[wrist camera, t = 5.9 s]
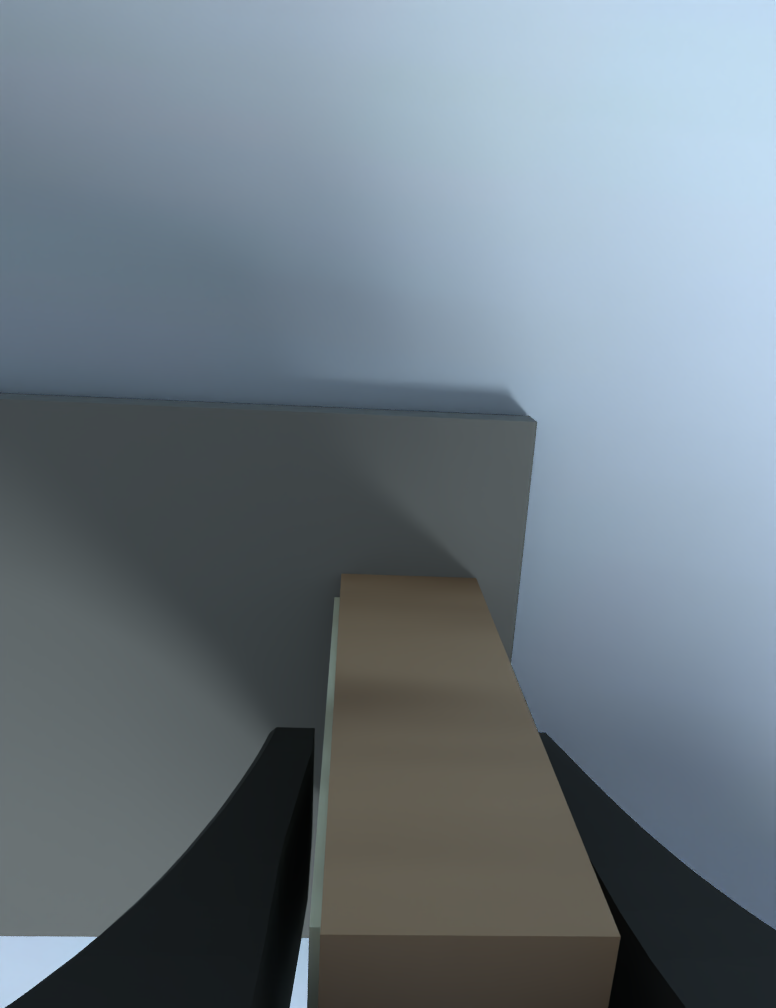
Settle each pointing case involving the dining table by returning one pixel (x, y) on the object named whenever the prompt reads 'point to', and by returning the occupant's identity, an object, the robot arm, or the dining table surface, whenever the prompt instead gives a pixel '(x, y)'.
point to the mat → (202, 609)
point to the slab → (443, 820)
